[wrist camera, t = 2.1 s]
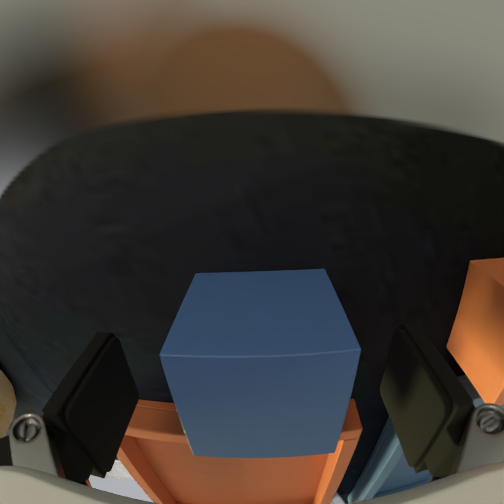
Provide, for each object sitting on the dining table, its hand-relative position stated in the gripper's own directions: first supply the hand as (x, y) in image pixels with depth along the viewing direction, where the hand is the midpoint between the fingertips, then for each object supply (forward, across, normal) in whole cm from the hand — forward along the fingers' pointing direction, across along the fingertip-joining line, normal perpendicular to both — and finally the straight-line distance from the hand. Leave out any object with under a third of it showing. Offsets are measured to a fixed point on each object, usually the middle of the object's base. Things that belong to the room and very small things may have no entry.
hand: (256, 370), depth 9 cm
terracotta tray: (+2, +2, +12) cm, 12 cm away
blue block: (+2, 0, 0) cm, 2 cm away
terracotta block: (+2, -11, 0) cm, 11 cm away
